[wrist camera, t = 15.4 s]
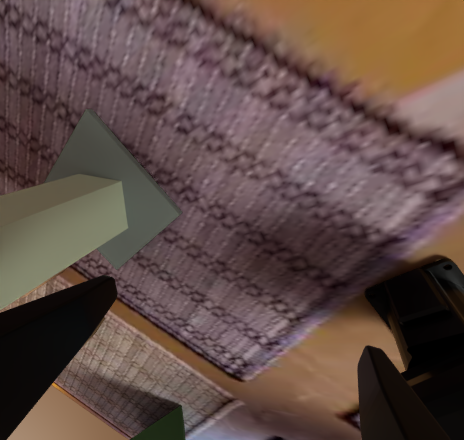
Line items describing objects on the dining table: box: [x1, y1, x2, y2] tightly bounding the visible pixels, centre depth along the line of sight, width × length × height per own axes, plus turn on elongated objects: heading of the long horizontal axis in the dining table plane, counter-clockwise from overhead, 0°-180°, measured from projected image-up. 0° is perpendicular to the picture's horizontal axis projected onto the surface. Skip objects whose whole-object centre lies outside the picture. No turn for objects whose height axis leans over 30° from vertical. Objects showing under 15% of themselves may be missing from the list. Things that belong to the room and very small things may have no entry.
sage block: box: [0, 174, 128, 310], centre depth 19 cm, size 5×5×13 cm
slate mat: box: [44, 109, 183, 270], centre depth 25 cm, size 12×12×1 cm
